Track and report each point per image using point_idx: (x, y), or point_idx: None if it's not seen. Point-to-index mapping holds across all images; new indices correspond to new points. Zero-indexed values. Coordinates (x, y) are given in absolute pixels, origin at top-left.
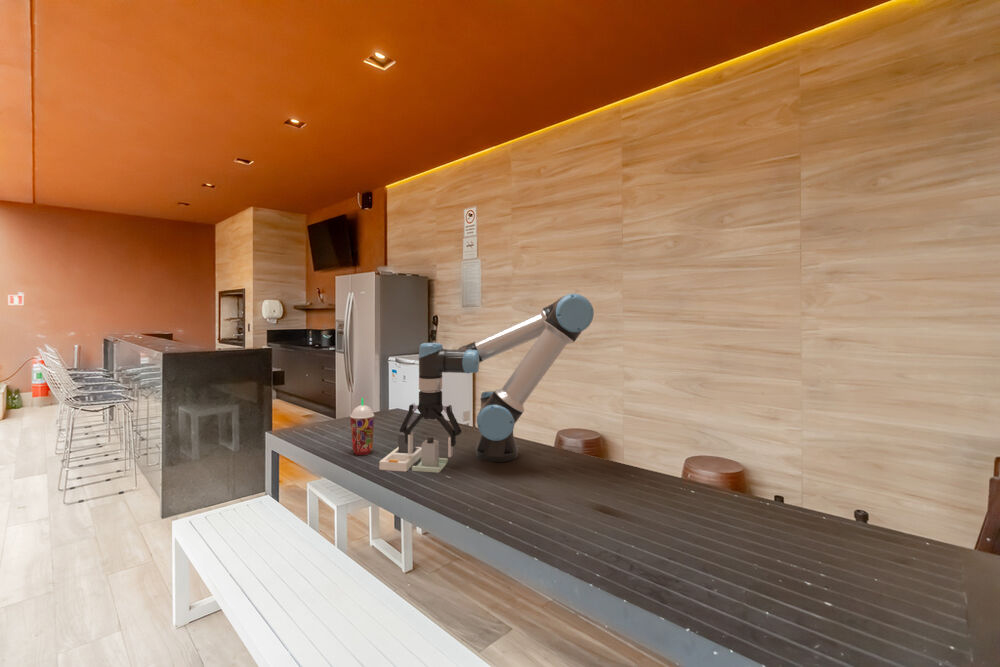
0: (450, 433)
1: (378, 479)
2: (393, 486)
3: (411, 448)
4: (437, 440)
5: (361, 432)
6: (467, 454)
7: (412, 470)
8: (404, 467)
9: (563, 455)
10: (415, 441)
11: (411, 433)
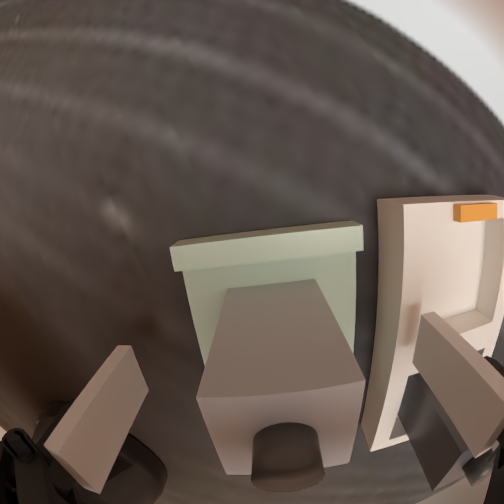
0: (31, 472)
1: (445, 86)
2: (336, 14)
3: (433, 358)
4: (240, 474)
5: None
6: (189, 462)
7: (351, 222)
8: (400, 201)
9: (10, 427)
10: (416, 453)
11: (488, 442)
